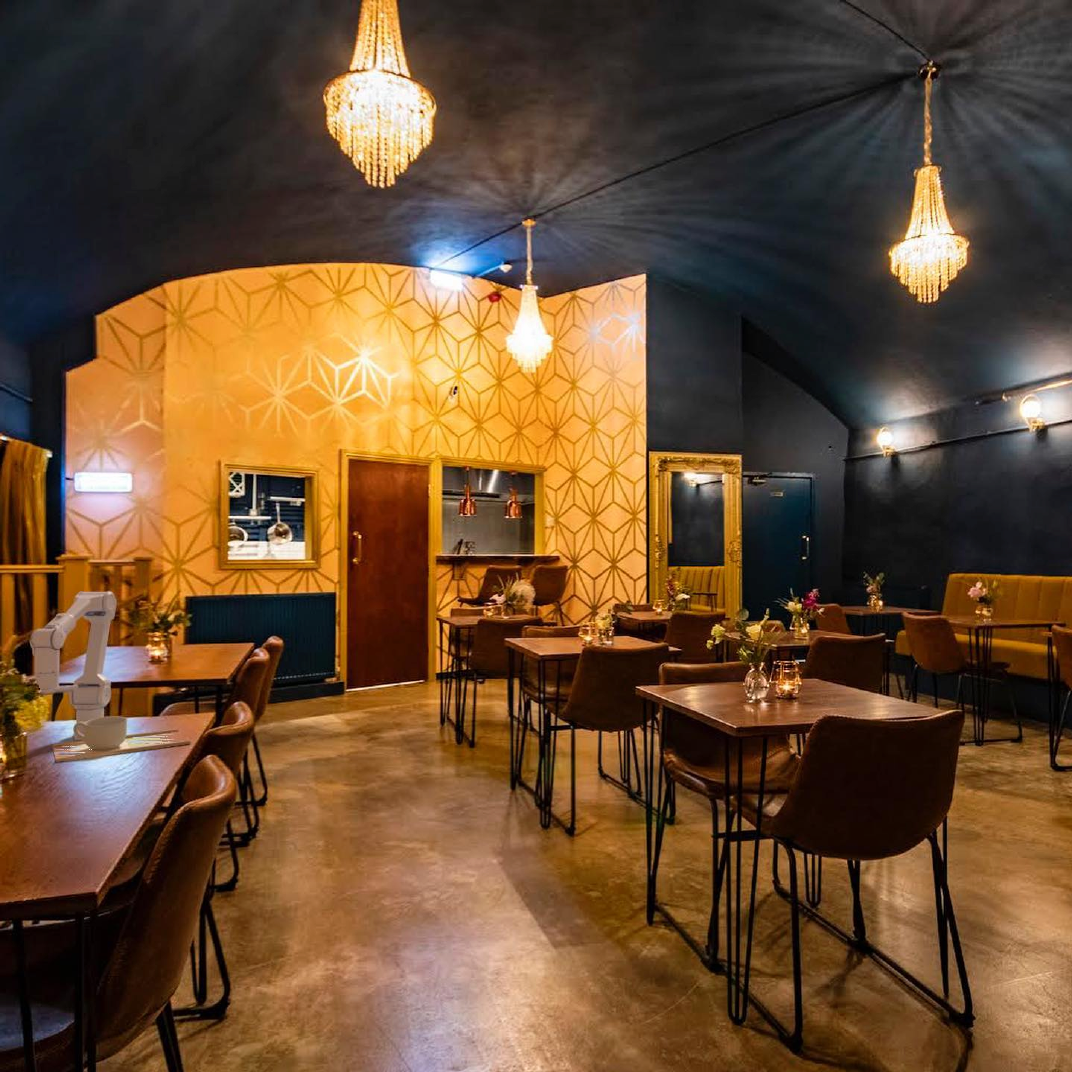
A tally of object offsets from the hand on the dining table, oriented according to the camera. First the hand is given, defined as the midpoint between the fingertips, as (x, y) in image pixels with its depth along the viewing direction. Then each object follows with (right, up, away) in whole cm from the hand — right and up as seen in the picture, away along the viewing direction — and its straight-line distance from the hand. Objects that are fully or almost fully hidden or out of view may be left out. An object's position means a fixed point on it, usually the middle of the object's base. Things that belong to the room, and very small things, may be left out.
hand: (46, 721), depth 206 cm
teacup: (+11, -10, +7) cm, 16 cm away
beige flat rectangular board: (+15, -10, +11) cm, 21 cm away
